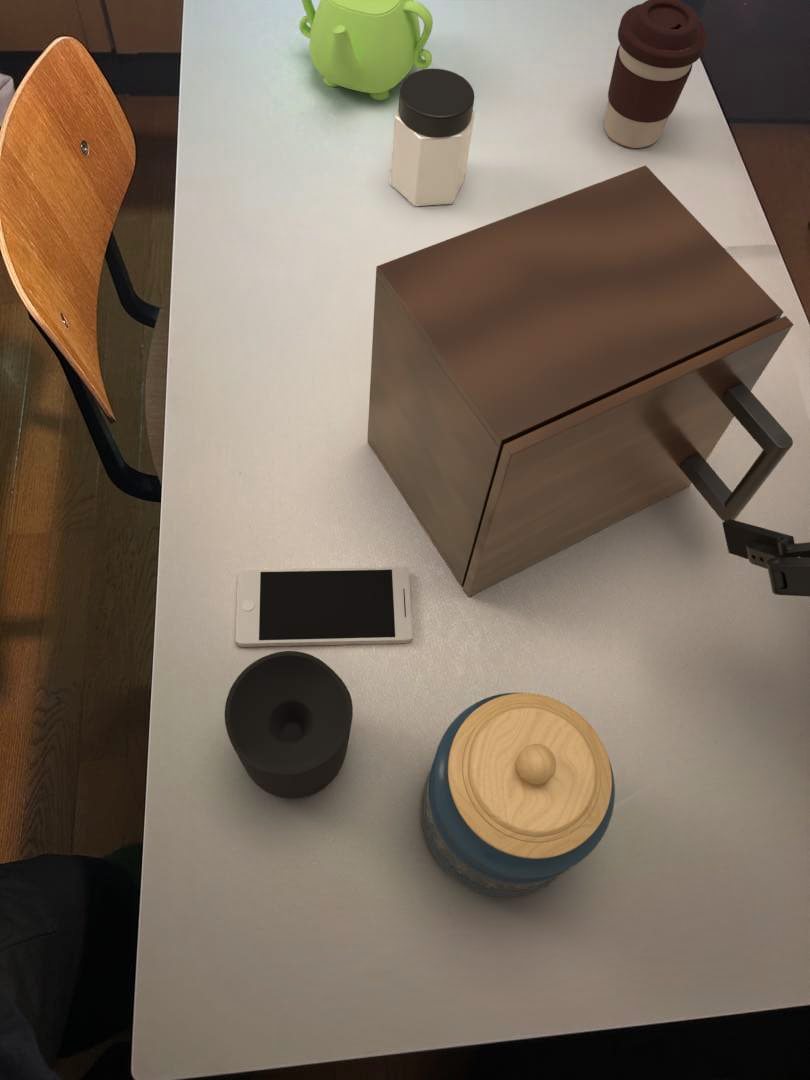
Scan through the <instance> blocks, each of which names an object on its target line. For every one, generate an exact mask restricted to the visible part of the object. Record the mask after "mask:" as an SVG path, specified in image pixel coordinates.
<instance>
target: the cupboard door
mask: <svg viewBox="0 0 810 1080" xmlns="http://www.w3.org/2000/svg"><path fill="white" fill-rule="evenodd" d="M793 326H794V323H793V322H792V321H791V320H790V319H789V317H787V316H786V315H784V316H781V317H780V318H779V319H777V320H775V321H773V322H771V323H768V324H766V325H764V326H762V327H760V328H758V329H755V330H753V331H751V332H749V333H747V334H744V335H742V336H740V337H738V338H736V339H734V340H731V341H729V342H727V343H725V344H723V345H720V346H718V347H716V348H714V349H712V350H709V351H707V352H705V353H703V354H701V355H699V356H696V357H694V358H692V359H690V360H688V361H685V362H683V363H681V364H679V365H677V366H675V367H672V368H670V369H668V370H666V371H664V372H661V373H659V374H657V375H655V376H653V377H651V378H648V379H646V380H644V381H642V382H640V383H637V384H635V385H633V386H631V387H629V388H626V389H624V390H622V391H620V392H618V393H616V394H613V395H611V396H609V397H607V398H605V399H602V400H600V401H598V402H596V403H594V404H592V405H589V406H587V407H585V408H583V409H581V410H578V411H576V412H574V413H572V414H570V415H567V416H565V417H563V418H561V419H559V420H557V421H554V422H552V423H550V424H548V425H546V426H543V427H541V428H539V429H537V430H535V431H533V432H530V433H528V434H526V435H524V436H522V437H519V438H517V439H515V440H513V441H511V442H508V443H506V444H504V446H503V449H502V453H501V456H500V460H499V463H498V467H497V470H496V474H495V478H494V481H493V485H492V488H491V492H490V495H489V499H488V502H487V506H486V509H485V513H484V516H483V520H482V523H481V527H480V531H479V534H478V538H477V541H476V545H475V548H474V552H473V555H472V559H471V562H470V566H469V569H468V573H467V576H466V580H465V583H464V586H462V590H463V592H464V593H465V594H466V596H467V598H470V597H472V596H474V595H476V594H478V593H480V592H482V591H484V590H486V589H488V588H490V587H492V586H494V585H496V584H498V583H500V582H501V581H504V580H506V579H509V577H511V576H513V575H516V574H518V573H520V572H522V571H523V570H525V569H528V568H529V567H531V566H533V565H535V564H538V563H539V562H541V561H544V560H545V559H548V558H549V557H551V556H553V555H555V554H557V553H559V552H561V551H564V550H565V549H567V548H569V547H570V546H573V545H575V544H577V543H579V542H580V541H583V540H585V539H587V538H588V537H591V536H593V535H594V534H596V533H598V532H600V531H602V530H605V529H606V528H608V527H610V526H613V525H614V524H616V523H618V522H621V521H622V520H624V519H626V518H628V517H630V516H632V515H634V514H636V513H638V512H640V511H642V510H644V509H646V508H648V507H649V506H651V505H654V504H655V503H658V502H659V501H662V500H663V499H666V498H668V497H670V496H672V495H673V494H675V493H678V492H679V491H682V490H683V489H686V488H687V487H689V486H691V485H693V487H694V488H695V490H696V491H698V492H699V494H700V495H701V496H702V498H703V499H704V500H705V501H706V502H707V504H708V505H709V506H710V507H711V509H712V511H714V513H715V514H716V515H717V516H718V517H719V518H720V520H721V521H723V522H725V521H727V520H728V519H732V520H736V519H737V518H738V517H739V515H740V514H741V512H742V511H743V510H744V509H745V508H746V506H747V505H748V504H749V502H750V501H751V500H752V498H753V497H754V496H755V495H756V493H757V492H758V491H759V489H760V488H761V487H762V485H763V484H764V483H765V481H766V480H767V479H768V478H769V477H770V475H771V474H772V472H773V471H774V470H775V469H776V468H777V466H778V465H779V464H780V462H781V461H782V459H783V458H784V457H785V456H786V455H787V453H788V452H789V450H791V448H792V447H793V444H794V441H793V438H792V436H791V435H790V434H789V432H787V431H786V430H785V429H784V427H783V426H782V425H781V424H780V423H779V422H778V421H777V419H776V418H775V417H774V416H773V415H772V414H771V413H770V411H769V410H768V409H767V408H766V407H765V406H764V404H763V403H761V401H760V400H759V398H757V397H756V396H755V394H754V393H753V392H752V390H753V388H754V386H755V385H756V384H757V382H758V380H759V379H760V377H761V376H762V374H763V372H764V371H765V369H766V368H767V367H768V365H769V364H770V362H771V360H772V359H773V357H774V355H775V354H776V353H777V352H778V349H779V348H780V346H781V345H782V343H783V342H784V340H785V339H786V337H787V336H788V334H789V332H790V330H792V327H793ZM734 418H735V419H736V420H737V421H738V423H739V424H740V425H741V426H742V427H743V428H744V429H745V431H746V432H747V433H748V434H749V435H750V436H751V437H752V439H753V440H754V441H755V442H756V443H757V444H758V446H759V447H760V448H761V449H762V450H761V452H760V453H759V455H758V456H757V457H756V459H755V460H754V462H753V463H752V465H751V466H750V467H749V469H748V470H747V471H746V473H745V474H744V476H742V478H741V480H740V481H739V482H738V483H737V485H736V486H735V488H734V489H733V490H732V491H731V490H730V489H729V487H728V486H727V485H726V483H725V482H724V481H723V480H722V478H721V477H720V476H719V475H718V474H717V473H716V471H715V470H714V469H713V468H712V467H711V465H710V464H709V463H708V462H707V460H708V458H709V457H710V455H711V454H712V452H713V451H714V449H715V447H716V446H717V444H718V443H719V441H720V440H721V438H722V436H723V435H724V433H725V431H726V430H727V429H728V428H729V426H730V424H731V423H732V421H733V420H734Z"/></svg>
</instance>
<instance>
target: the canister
mask: <svg viewBox="0 0 810 1080" xmlns="http://www.w3.org/2000/svg"><path fill="white" fill-rule="evenodd" d="M615 786H616V785H615V776H614V771H613V768H612V764H611V761H610V758H609V755H608V753H607V750H606V748H605V746H604V743H603V741H602V740H601V738H600V736H599V735H598V733H597V731H596V730H595V728H593V726H592V725H591V724H590V723H589V722H588V721H587V719H585V718H584V717H583V716H582V715H581V714H580V713H579V712H578V711H576V710H575V709H574V708H573V707H571V706H569V705H568V704H566V703H564V702H562V701H559V700H558V699H555V698H553V697H549V696H547V695H543V694H537V693H529V692H506V693H500V694H499V693H498V694H494V695H492V696H488V697H485V698H483V699H481V700H478V701H476V702H475V703H473V704H471V705H470V706H468V707H467V708H465V709H464V710H463V711H462V712H461V713H459V715H457V717H455V719H454V720H452V722H451V723H450V725H449V726H448V727H447V728H446V730H445V731H444V733H443V735H442V737H441V739H440V741H439V744H438V746H437V747H436V751H435V754H434V758H433V760H432V763H431V767H430V770H429V773H428V774H427V777H426V779H425V782H424V786H423V790H422V793H421V800H420V818H421V825H422V830H423V834H424V837H425V840H426V842H427V845H428V847H429V849H430V851H431V853H432V855H433V857H434V858H435V860H436V861H437V862H438V864H439V865H440V866H441V867H442V869H443V870H444V871H445V872H446V873H447V874H448V875H449V876H451V878H452V879H454V880H456V881H457V882H458V883H460V884H461V885H463V886H464V887H466V888H468V889H469V890H473V891H474V892H477V893H480V894H483V895H487V896H490V897H496V898H514V897H521V896H525V895H529V894H532V893H534V892H537V891H540V890H542V889H543V888H545V887H546V886H548V885H550V884H551V883H553V882H554V881H555V880H557V878H559V877H560V876H561V875H562V874H564V873H566V872H567V871H569V870H570V869H572V868H573V867H574V866H577V865H578V864H579V863H580V862H582V861H583V860H584V859H586V858H587V857H588V856H589V855H590V854H591V853H592V852H593V851H594V850H595V849H596V847H597V846H598V845H599V843H600V842H601V841H602V839H603V837H604V836H605V834H606V832H607V830H608V828H609V825H610V823H611V820H612V817H613V812H614V807H615V797H616V787H615Z"/></svg>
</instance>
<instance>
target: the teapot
mask: <svg viewBox="0 0 810 1080" xmlns="http://www.w3.org/2000/svg"><path fill="white" fill-rule="evenodd" d="M301 3H302V6H303V9H304V13H305V15H304V16H302V17H301V19H300V20H299V25H298V26H299V27H298V28H299V31H300V33H301V34H302V36H304V37H306V38H307V39H309V54H310V55H309V56H310V59H311V63H312V64H313V66H314V67H315V69H316V70H317V72H318V73H319V75H321V76H322V77H323V79H322V80H323V83H324V85H326V86H328V87H332V88H337V87H342V88H345V89H348V90H353V91H357V92H361V93H369V96H370V98H372V99H373V100H376V101H383V100H386V99H388V98H389V96H390V90H392V89H393V88H395V87H396V86H397V85H398V84H399V83H400V82H402V81H403V80H404V79H405V78H406V77H407V76H408V74H410V72H411V71H412V70H413V68H414V67H415V68H416V69H419V70H423V69H429V67H430V66H431V65H432V62H433V54H432V53H431V51H430V50H428V49H426V48H425V46H426V44H427V43H428V40H429V38H430V35H431V33H432V30H433V24H434V21H433V20H434V19H433V15H432V13H431V11H430V10H429V9H428V7H426V6H425V5H424V4H423V3H421V2H419V1H416V0H320V1H319V3H318V6H317V8H316V9H315V6H314V4H313V1H312V0H301ZM419 18H420V19H421V20H422V23H423V30H422V33H421V26H420V19H419ZM308 24H309V25H308Z"/></svg>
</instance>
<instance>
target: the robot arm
mask: <svg viewBox="0 0 810 1080" xmlns="http://www.w3.org/2000/svg"><path fill="white" fill-rule="evenodd" d="M722 528H723V533H724V538H725V542H726V547H727V552H728V554H730V555H734V556H737V557H740V558H743V559H745V560H748V562H749V563H750V564H751V565H754V566H757V567H760V568H762V569H766V570H767V572H768V577H769V582H770V588H771V592H772V594H773V595H777V596H790V597H791V596H792V597H794V596H795V597H810V541H808V542H797V543H796V542H795V537H794V536H792V535H789V534H786V533H782V532H778V531H775V530H771V529H768V528H765V527H762V526H761V527H760V526H758V525H753V524H749V523H746V522H742V521H738V520H736V519H735V520H732V519H728V520H727V521H723V522H722Z"/></svg>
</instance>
